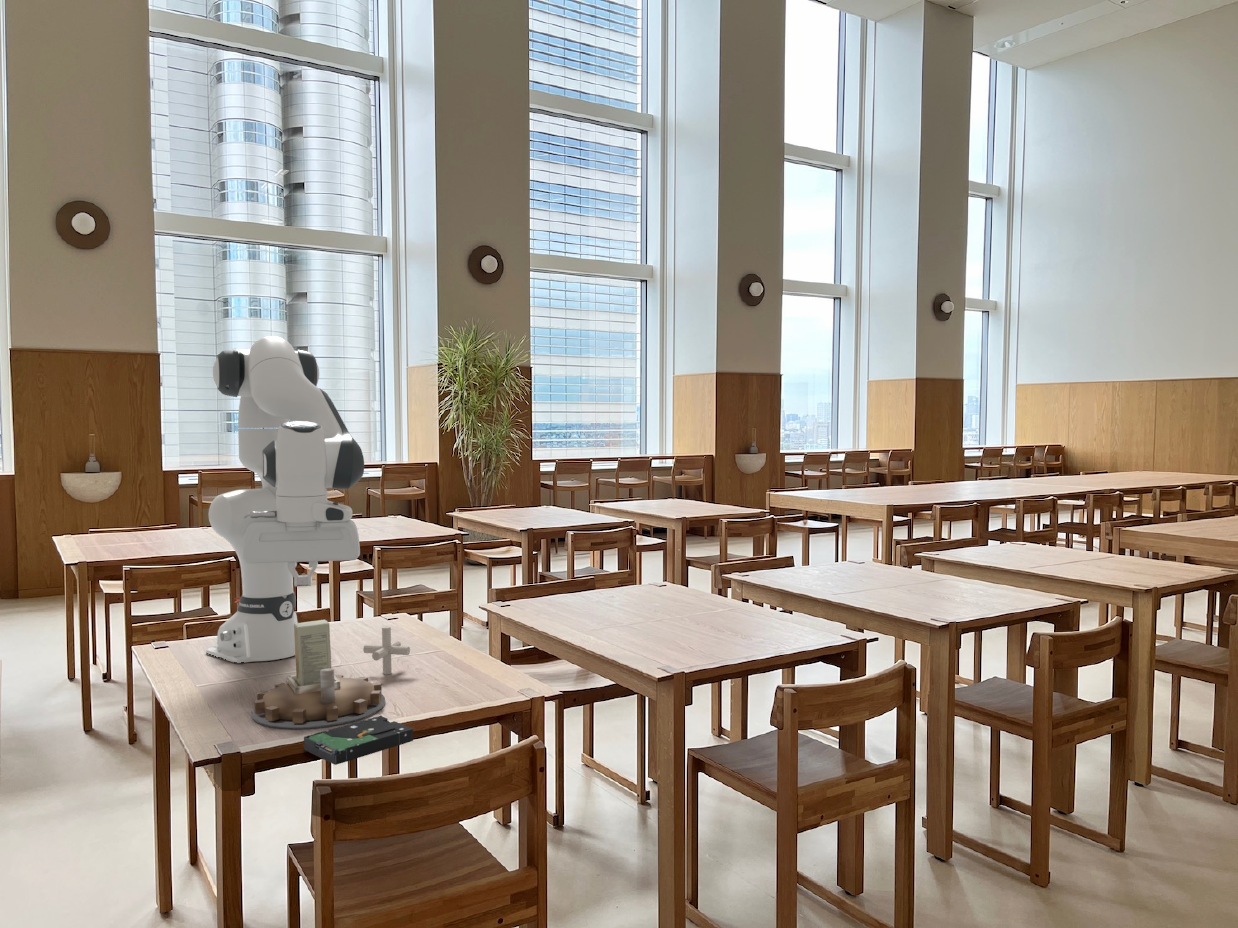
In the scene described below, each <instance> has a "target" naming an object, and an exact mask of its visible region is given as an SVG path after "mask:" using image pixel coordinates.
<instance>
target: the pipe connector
mask: <svg viewBox="0 0 1238 928" xmlns="http://www.w3.org/2000/svg"><path fill="white" fill-rule="evenodd" d="M391 631H392V629H391V626H390V625H387V626H386V625H385V626H382V627H381V639H382V643H381V644H382V645H379V644H364V645H363V648H362V649H363V653H364V654H371V657H372V659H373V660H374V661H379V660H381V659H382V674H383V675H390V674H392V672H393V671H392V670H393V669H392V655H398V656H399V655H400V656H409V655H410V652H411V647H410V646H405V645H404V646H403V645H402V644H401V642H400V641H399V640H394V641H393V642H392V632H391Z"/></svg>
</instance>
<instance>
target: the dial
mask: <svg viewBox="0 0 1238 928" xmlns="http://www.w3.org/2000/svg"><path fill="white" fill-rule="evenodd" d="M320 678H321V684H314V685H307V686H300V687H298V685H297V679H296V674H294V675H287V677H286V679H287V681H286V682H287V683H286V682H279V683H276V684H274V688H273V689H270V690H261V691H259V692H258V693H256V700H253V708H254V712H255V714H262V713H265V720H268V721H275V720H278V719H283V720H293V723H304V722H305V721H306V720H320V719H327V721H332V720H338V717H339V716H344V715H348V714H351V713H357V714H361V713H364V712H367V707H368V706H369V705H371V704H380V703H381V701H382V699H381V695H383V693H382V684H381V682H379V681H377V682H370V681H369V678H368V677H365V676H360V677H357V678H354V677H344V675H342V674H340V675H339V674H337V675H336V674H335V669H334V668H332V667H331V668H328V669H322V670H320Z"/></svg>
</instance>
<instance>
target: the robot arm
mask: <svg viewBox="0 0 1238 928" xmlns="http://www.w3.org/2000/svg"><path fill="white" fill-rule="evenodd" d="M213 363H214V364H213V367H212V377H213V378H212V379H213V381H214V384H215V385H216V387H217V391H219V392H220V393H221V394H222V395H224V396H227V397H232V398H238V397H240V399H239V405H238V419H237V423H238V424H237V428H238V429H237V431H238V435H237V436H238V459H239V461H240V464H241V465H242V466H243V467H244V468H246V469H247V470H249V471H251V472H252V473H255V474H257V475H258V478H259V480H260V481H261V486H262V487H260V488H259V487H258V488H247V489H246V488H245V489H236V490H232V491H231V490H230V491H228V492H224V493H221V494H219V495H216V496H215V497H214V499H213V500H212V501H211V504H210V505H209V507H208V521H209V523H210V524H209V525H210V526H211V528H212V530H213V531H214V532H215V533H216V534H217V535H218V536H220V537H222V538H223V539H224V540H225V541H226V542H228V544H229V545H230V546H232V548H233V550H234V552H235V553H236V555H237V557H238V560H239V565H240V571H241V584H242V585H241V587H242V594H241V596H238V597H235V598H234V600H236V601H234V603H235V604H237V603H238V606H237V609H236V610H237V611H236V612H235V613H234V614H233V615H231V616H230V617H229V618H228V619H227V620H226V621H225V622H224V623H222V624H221V625H220V626H219V627H218V630H217V636H216V638H217V639H216V644H215V645H213V646H210V647H208V648H206V651H205V653H209V654H211V655H210V656H212V655H214V656H213V657H215V656H216V658H218V657H222V658H224V659H223V660H225V659H226V660H225V661H228V662H231V663H234V662H237V663H236V664H242V663H241V662H244V663H250V662H251V663H252V662H268V661H275V660H280V659H287V658H290V657H293V656H295V636H294V623H299V621H298V616H297V612H295V608H296V601H297V599H296V592H295V591H294V587H311V586H312V585H313V584H312V583H313V581H312V580H313V579H312V578H313V574H314V573H315V572H316V570H317V568H318V565H319V563H318V562H333V561H335V562H336V561H339V562H340V561H343V562H344V561H355V560H357V559H358V558H359V557H360V556H361V548H360V547H361V546H360V543H361V542H360V537H359V532H358V527H357V524H356V523H355V521H354V520H352V517H353V514H354V513H353V509H352V508H351V506H349V505H345V504H343V503H339V502H335V501H331V500H328V489H333V490H334V489H337V490H350V488H353V486H355V485H356V484H357V483H358V482H360V480H361V479H362V478H363V476H364V472H365V458H364V454H363V450H362V448H361V446H360V445H359V444H358V442H357V441H356V440H355V439H354V437H353V436H352V435H351V434H350V431H349V429H348V428H347V426H346V424H345V423H344V420H343V419H342V417H341V415H340V412H338V409H337V408H336V406H335V403H334V402H333V401H332V399H331V398H330V396H329V395H328V393H327V391H325V390H323V389H321V388H319V387H318V386H317V385H318V383H319V379H320V368H319V365H318V362H317V359H316V357H315V356H314V354H313V353H311V352H310V351H306V350H300V349H296V350H295V349H294V347H293V345H292V344H291V343H290V342H289V341H287V340H286V339H284V338H282V337H279V336H272V335H271V336H264V337H261V338H259V339H258V340H256V341H255V342H254V343H253V344H252V346H251V347H250V348H246V349H245V348H244V349H237V348H230V349H225V350H222V351H220V353H218V354H217V355H216V358H215V361H214V362H213ZM290 420H291V421H290ZM303 562H307V563H308V568H311V569H310V571H309V572H308V574H304V575H301V574H300V575H299V573H298V571H297V570H296V568H297V565H298V563H303ZM209 654H208V655H209Z"/></svg>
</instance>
